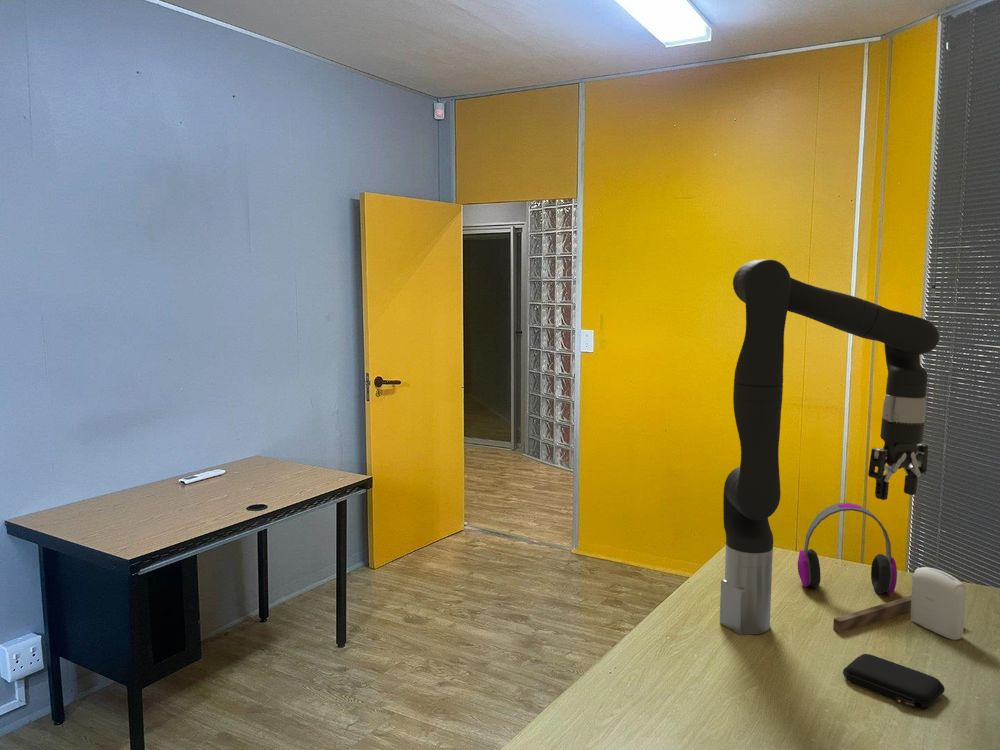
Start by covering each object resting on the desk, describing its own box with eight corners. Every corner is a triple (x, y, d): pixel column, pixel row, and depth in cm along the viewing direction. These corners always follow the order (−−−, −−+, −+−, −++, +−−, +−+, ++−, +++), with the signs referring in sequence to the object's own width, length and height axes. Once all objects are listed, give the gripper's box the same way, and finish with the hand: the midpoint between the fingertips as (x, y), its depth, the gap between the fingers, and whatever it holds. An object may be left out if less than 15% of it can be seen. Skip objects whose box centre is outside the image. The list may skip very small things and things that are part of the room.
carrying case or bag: (835, 684, 133) (925, 720, 123) (836, 668, 133) (926, 702, 122) (860, 663, 140) (947, 694, 130) (861, 647, 140) (948, 678, 129)
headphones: (888, 585, 174) (894, 502, 171) (899, 601, 166) (905, 514, 163) (794, 577, 179) (798, 497, 176) (800, 593, 170) (804, 508, 168)
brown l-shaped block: (877, 652, 144) (877, 637, 143) (833, 630, 153) (833, 616, 152) (959, 624, 154) (960, 610, 154) (913, 605, 163) (914, 592, 163)
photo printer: (906, 620, 157) (910, 563, 155) (921, 616, 158) (925, 560, 156) (951, 642, 147) (955, 582, 145) (966, 638, 149) (971, 579, 147)
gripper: (909, 412, 155) (902, 487, 157) (862, 416, 149) (855, 495, 151) (944, 419, 148) (936, 497, 150) (896, 423, 142) (888, 505, 144)
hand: (895, 496), depth 151 cm, fingers open, 8 cm apart
